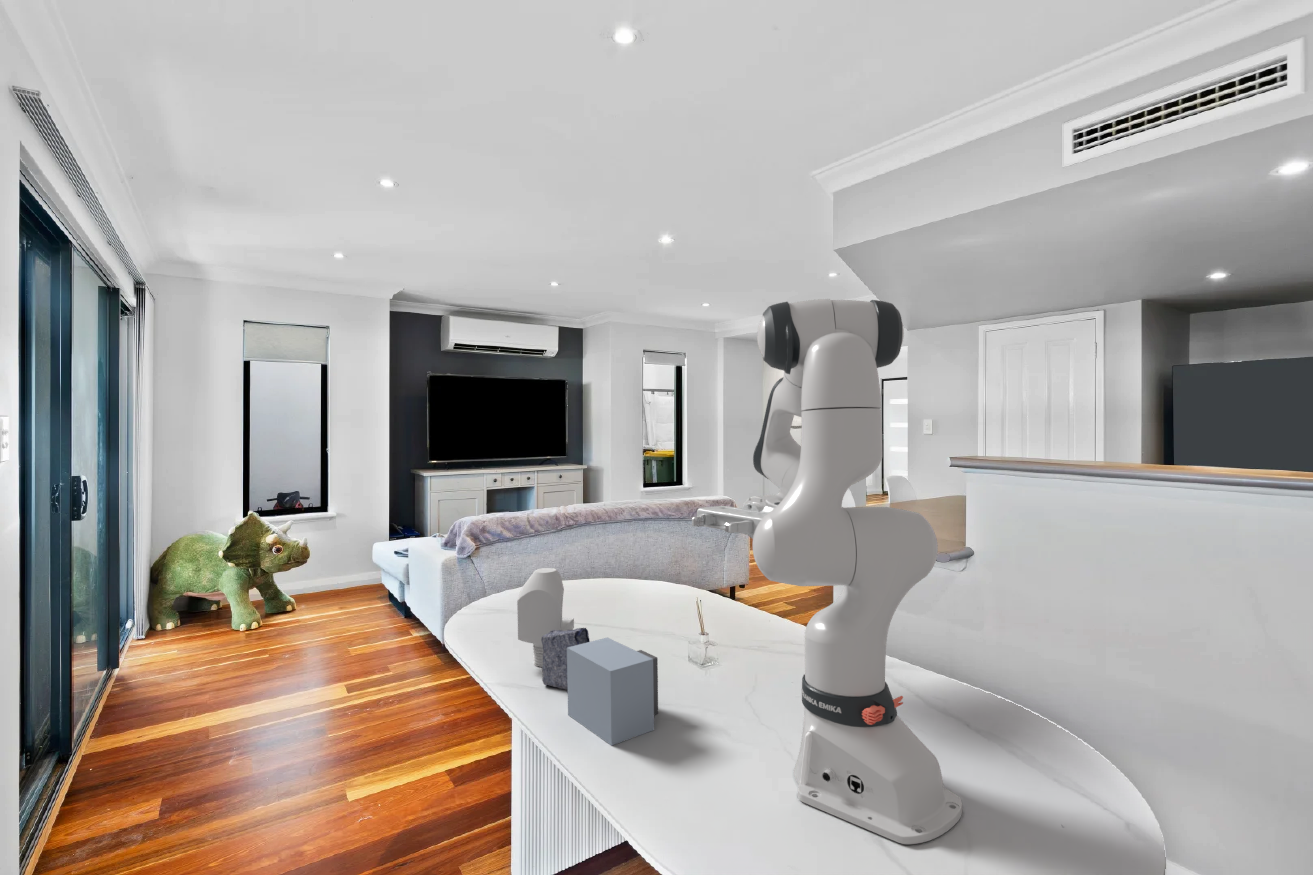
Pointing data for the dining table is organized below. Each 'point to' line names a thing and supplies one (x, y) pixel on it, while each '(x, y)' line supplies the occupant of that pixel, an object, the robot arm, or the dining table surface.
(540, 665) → the light fixture
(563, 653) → the stone
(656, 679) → the plug
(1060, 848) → the dining table surface
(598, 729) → the socket
